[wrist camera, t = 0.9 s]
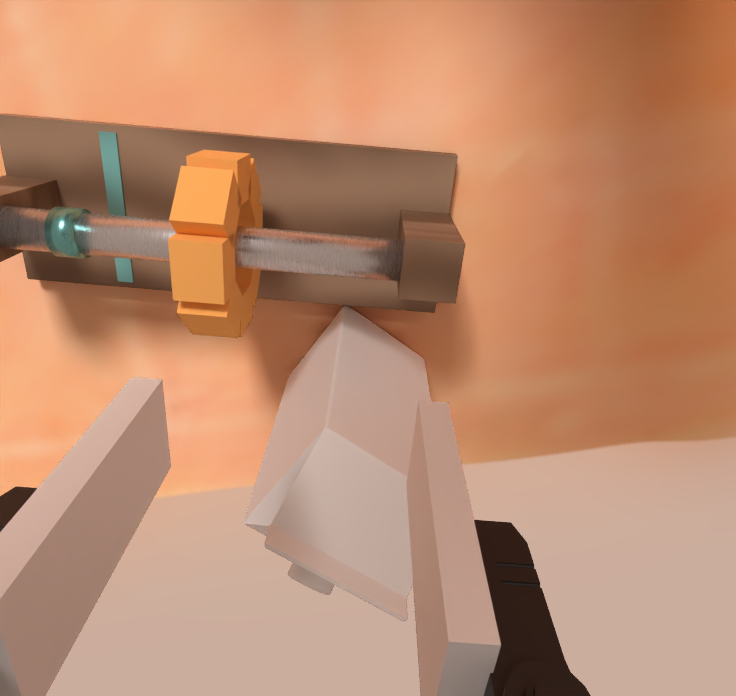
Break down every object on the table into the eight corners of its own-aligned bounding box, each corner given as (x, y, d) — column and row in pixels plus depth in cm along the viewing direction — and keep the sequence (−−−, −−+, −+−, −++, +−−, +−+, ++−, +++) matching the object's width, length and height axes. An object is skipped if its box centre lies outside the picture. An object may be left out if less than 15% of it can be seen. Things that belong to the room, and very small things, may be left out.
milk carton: (345, 302, 37) (316, 489, 20) (425, 358, 39) (462, 574, 22) (288, 374, 39) (219, 594, 22) (366, 423, 41) (356, 662, 24)
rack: (4, 113, 32) (-104, 121, 25) (455, 153, 32) (476, 173, 25) (36, 274, 36) (-48, 320, 29) (433, 307, 37) (445, 360, 30)
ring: (220, 143, 31) (161, 165, 22) (262, 147, 31) (219, 169, 22) (225, 294, 35) (177, 360, 26) (262, 297, 35) (226, 364, 27)
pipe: (-13, 195, 29) (-48, 204, 27) (429, 233, 29) (434, 246, 27) (-3, 242, 30) (-35, 255, 28) (423, 278, 31) (427, 294, 28)
